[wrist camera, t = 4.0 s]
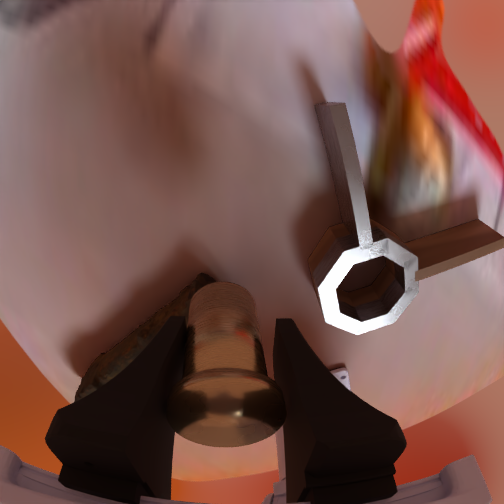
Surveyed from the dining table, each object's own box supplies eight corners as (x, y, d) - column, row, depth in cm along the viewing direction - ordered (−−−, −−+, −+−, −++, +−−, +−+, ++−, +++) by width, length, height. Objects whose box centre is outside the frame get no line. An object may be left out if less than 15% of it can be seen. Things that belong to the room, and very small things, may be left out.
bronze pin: (263, 339, 15) (282, 443, 10) (185, 341, 15) (177, 447, 10) (265, 272, 14) (292, 378, 8) (176, 275, 13) (155, 383, 8)
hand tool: (204, 260, 22) (195, 300, 17) (241, 299, 23) (240, 343, 19) (65, 361, 26) (48, 395, 22) (95, 385, 28) (81, 420, 24)
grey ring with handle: (399, 287, 23) (418, 314, 20) (319, 311, 23) (329, 343, 20) (370, 93, 17) (395, 93, 13) (267, 117, 17) (272, 120, 14)
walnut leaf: (476, 258, 22) (499, 279, 19) (319, 311, 23) (329, 343, 20) (477, 184, 19) (506, 200, 16) (301, 235, 21) (311, 260, 17)
